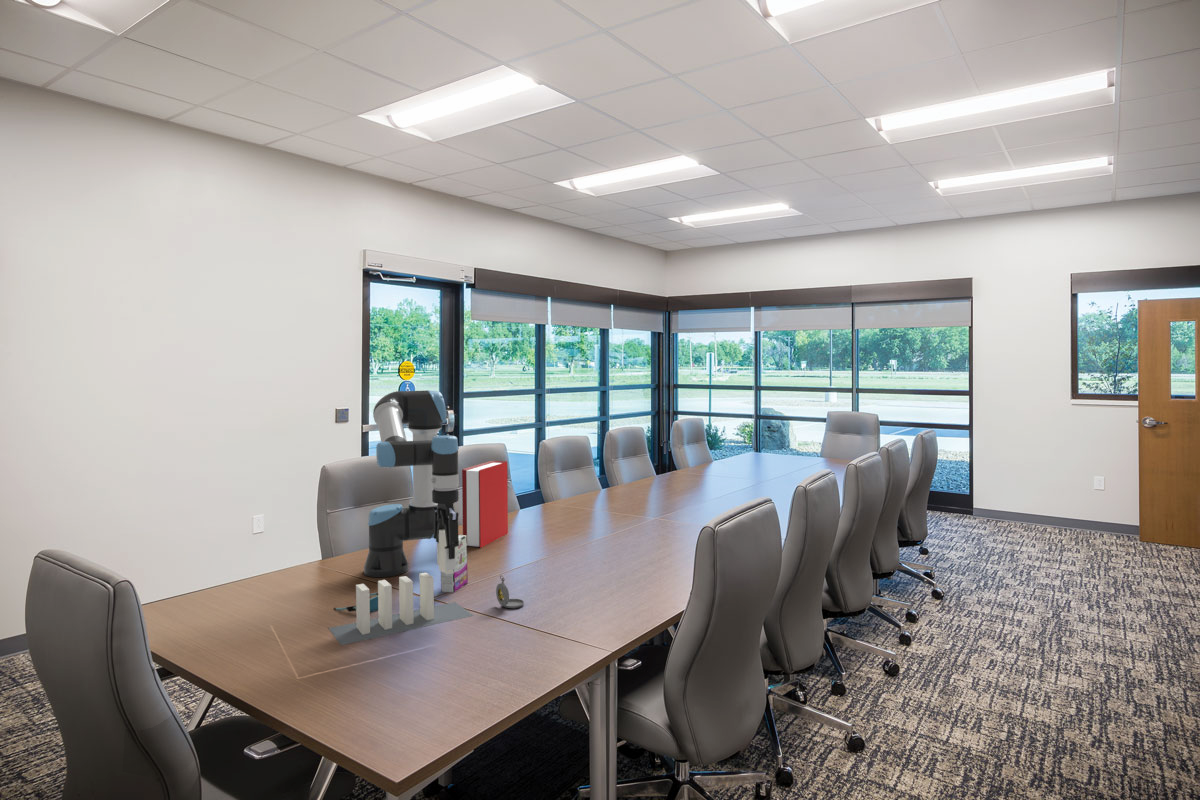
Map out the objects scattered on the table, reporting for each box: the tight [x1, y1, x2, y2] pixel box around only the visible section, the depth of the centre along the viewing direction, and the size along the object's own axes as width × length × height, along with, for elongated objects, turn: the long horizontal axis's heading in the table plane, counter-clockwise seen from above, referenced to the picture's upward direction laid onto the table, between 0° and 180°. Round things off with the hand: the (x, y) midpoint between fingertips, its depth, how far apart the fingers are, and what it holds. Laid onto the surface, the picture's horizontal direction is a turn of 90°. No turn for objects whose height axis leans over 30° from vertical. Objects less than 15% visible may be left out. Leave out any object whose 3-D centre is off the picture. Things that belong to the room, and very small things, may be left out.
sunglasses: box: [333, 591, 378, 613], centre depth 202 cm, size 14×15×5 cm
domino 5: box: [438, 529, 453, 574], centre depth 195 cm, size 6×2×12 cm, turn 35°
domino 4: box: [419, 572, 435, 620], centre depth 192 cm, size 6×2×12 cm, turn 35°
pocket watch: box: [495, 575, 525, 609], centre depth 201 cm, size 8×8×10 cm
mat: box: [328, 601, 474, 646], centre depth 188 cm, size 14×37×1 cm, turn 125°
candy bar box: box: [440, 534, 469, 593], centre depth 219 cm, size 11×5×16 cm, turn 168°
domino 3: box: [398, 575, 414, 625], centre depth 188 cm, size 6×2×12 cm, turn 35°
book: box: [461, 460, 509, 549], centre depth 282 cm, size 27×8×32 cm, turn 163°
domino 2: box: [377, 579, 393, 630], centre depth 185 cm, size 6×2×12 cm, turn 35°
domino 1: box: [355, 583, 371, 635], centre depth 182 cm, size 6×2×12 cm, turn 35°
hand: (446, 566), depth 195 cm, fingers closed on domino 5, 6 cm apart
